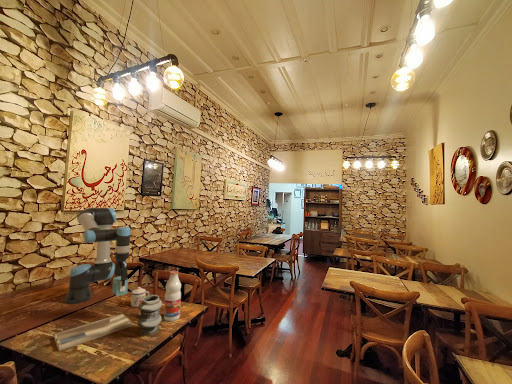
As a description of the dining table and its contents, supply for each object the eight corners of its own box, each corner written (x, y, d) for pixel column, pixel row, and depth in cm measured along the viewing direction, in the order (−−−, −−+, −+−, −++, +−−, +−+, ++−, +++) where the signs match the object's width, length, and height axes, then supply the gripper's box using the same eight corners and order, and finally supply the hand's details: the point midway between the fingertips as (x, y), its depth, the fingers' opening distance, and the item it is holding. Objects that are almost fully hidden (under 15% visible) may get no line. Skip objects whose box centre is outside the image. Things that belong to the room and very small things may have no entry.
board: (53, 337, 120) (54, 327, 120) (122, 316, 143) (122, 308, 143) (58, 351, 109) (59, 340, 110) (131, 326, 133) (132, 317, 133)
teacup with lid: (134, 308, 154) (135, 290, 155) (128, 304, 160) (129, 287, 161) (151, 303, 164) (152, 286, 164) (145, 299, 169) (146, 282, 170)
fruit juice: (178, 313, 150) (181, 269, 152) (180, 320, 142) (183, 273, 143) (163, 315, 146) (165, 270, 148) (164, 322, 138) (166, 274, 139)
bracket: (112, 292, 146) (113, 278, 146) (122, 290, 150) (123, 276, 151) (116, 296, 141) (117, 281, 141) (127, 293, 145) (128, 279, 146)
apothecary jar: (136, 339, 121) (138, 303, 122) (137, 327, 132) (139, 294, 133) (161, 334, 126) (163, 300, 127) (160, 323, 137) (162, 292, 138)
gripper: (110, 250, 151) (108, 286, 150) (121, 256, 137) (119, 295, 136) (123, 248, 156) (120, 283, 155) (135, 254, 142) (132, 292, 142)
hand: (120, 289), depth 146 cm, fingers closed on bracket, 7 cm apart
